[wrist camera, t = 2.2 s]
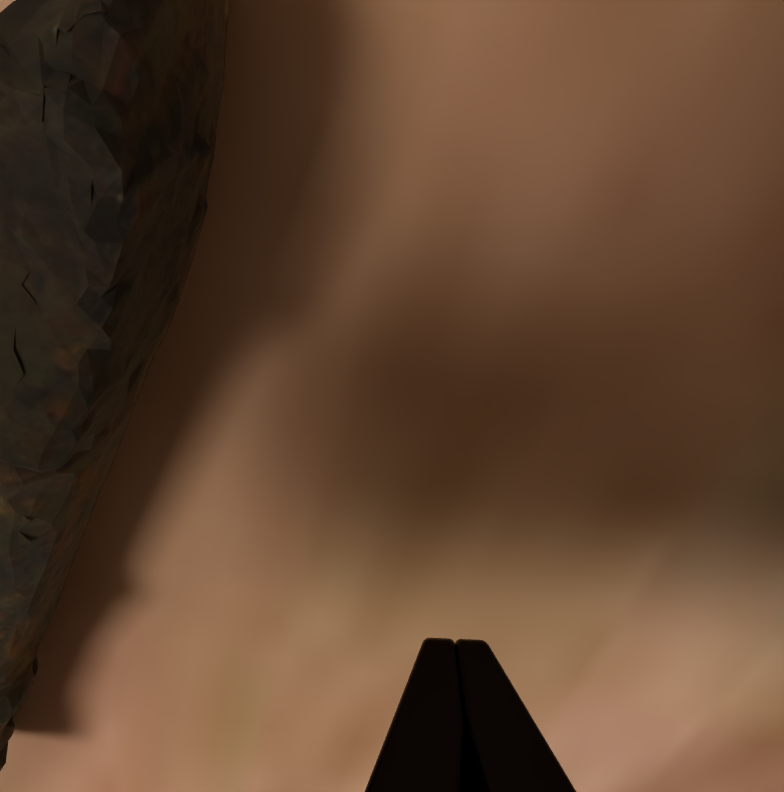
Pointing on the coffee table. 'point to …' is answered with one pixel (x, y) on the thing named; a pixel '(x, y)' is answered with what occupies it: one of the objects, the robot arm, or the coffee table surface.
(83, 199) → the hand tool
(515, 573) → the coffee table surface
